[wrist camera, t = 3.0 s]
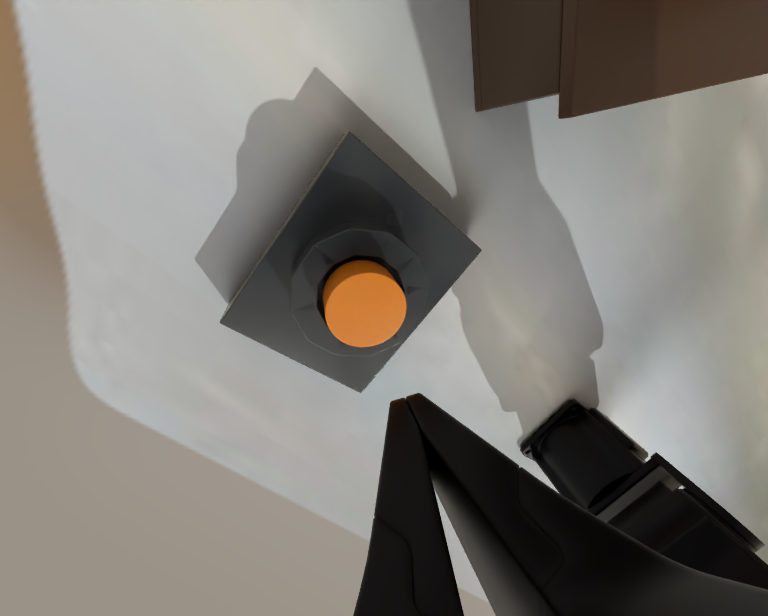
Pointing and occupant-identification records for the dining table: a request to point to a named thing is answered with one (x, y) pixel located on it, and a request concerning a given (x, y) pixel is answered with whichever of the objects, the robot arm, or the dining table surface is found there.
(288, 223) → the control block
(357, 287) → the release button
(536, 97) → the brown lidded box
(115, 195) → the dining table surface
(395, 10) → the dining table surface
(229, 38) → the dining table surface
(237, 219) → the dining table surface
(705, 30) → the lid
